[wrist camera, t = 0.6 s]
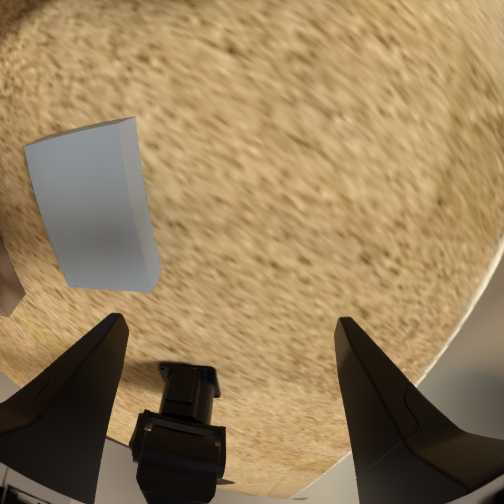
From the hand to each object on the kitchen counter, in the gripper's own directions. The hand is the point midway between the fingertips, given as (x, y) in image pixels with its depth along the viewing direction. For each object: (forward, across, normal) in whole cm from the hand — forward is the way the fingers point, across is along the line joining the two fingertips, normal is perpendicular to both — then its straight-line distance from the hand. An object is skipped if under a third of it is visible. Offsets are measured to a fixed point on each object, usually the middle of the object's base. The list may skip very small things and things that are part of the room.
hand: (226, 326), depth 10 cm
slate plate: (+11, +11, 0) cm, 16 cm away
